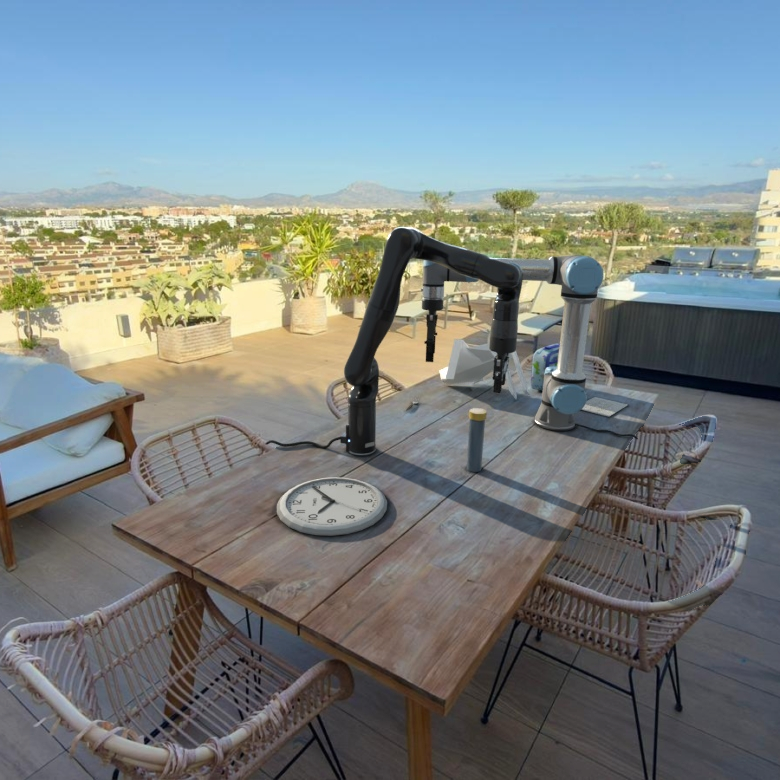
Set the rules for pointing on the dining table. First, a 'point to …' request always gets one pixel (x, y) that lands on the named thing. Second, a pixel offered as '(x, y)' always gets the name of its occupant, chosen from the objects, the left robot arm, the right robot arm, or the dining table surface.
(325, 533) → the wall clock
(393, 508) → the dining table surface
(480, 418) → the lid
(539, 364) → the lunch box
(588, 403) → the invitation card
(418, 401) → the fork
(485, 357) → the white plastic object
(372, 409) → the left robot arm
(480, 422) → the bottle
